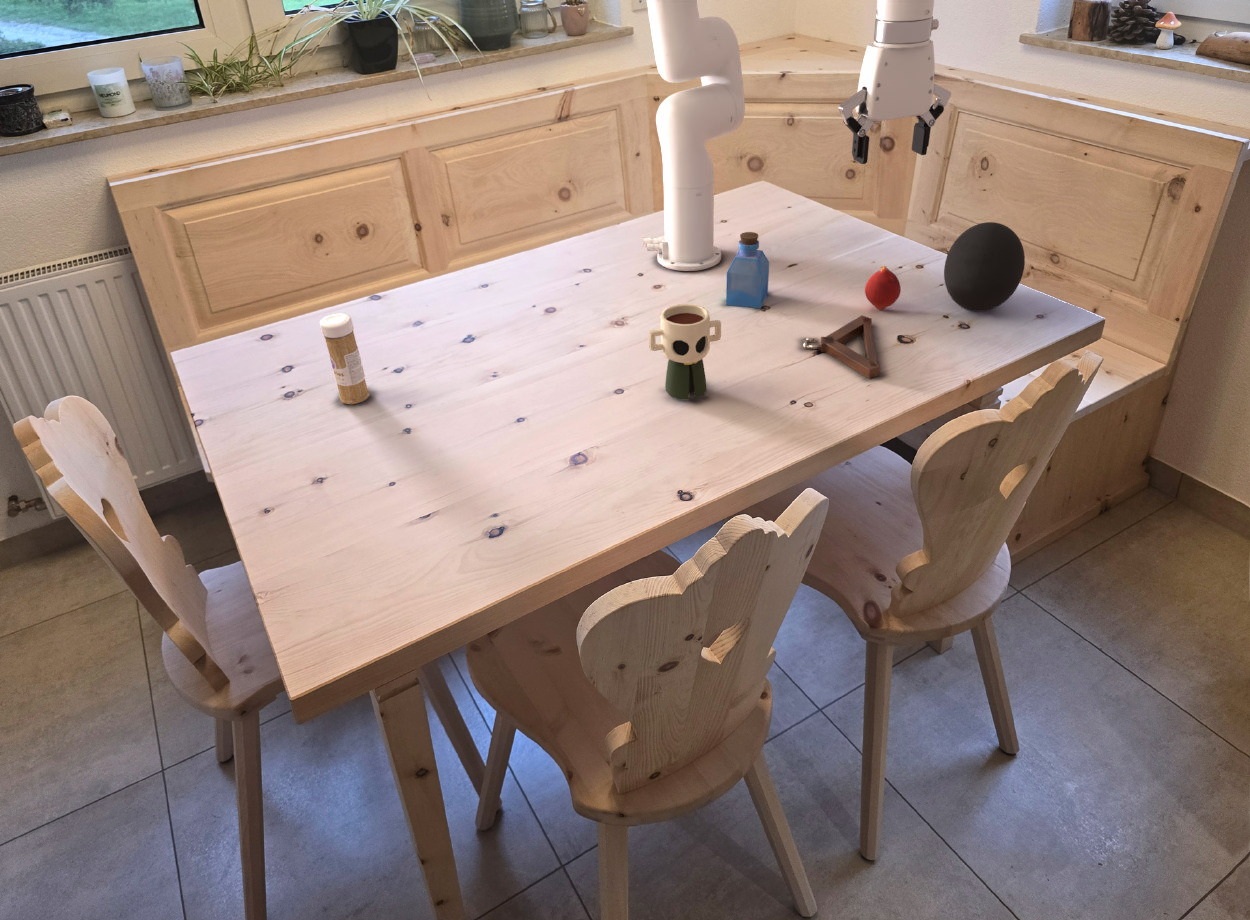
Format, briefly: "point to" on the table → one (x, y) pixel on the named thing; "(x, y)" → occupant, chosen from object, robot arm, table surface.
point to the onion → (882, 288)
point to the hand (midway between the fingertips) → (889, 157)
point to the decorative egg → (984, 266)
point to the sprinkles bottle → (345, 358)
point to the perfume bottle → (748, 274)
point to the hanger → (846, 355)
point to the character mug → (685, 347)
